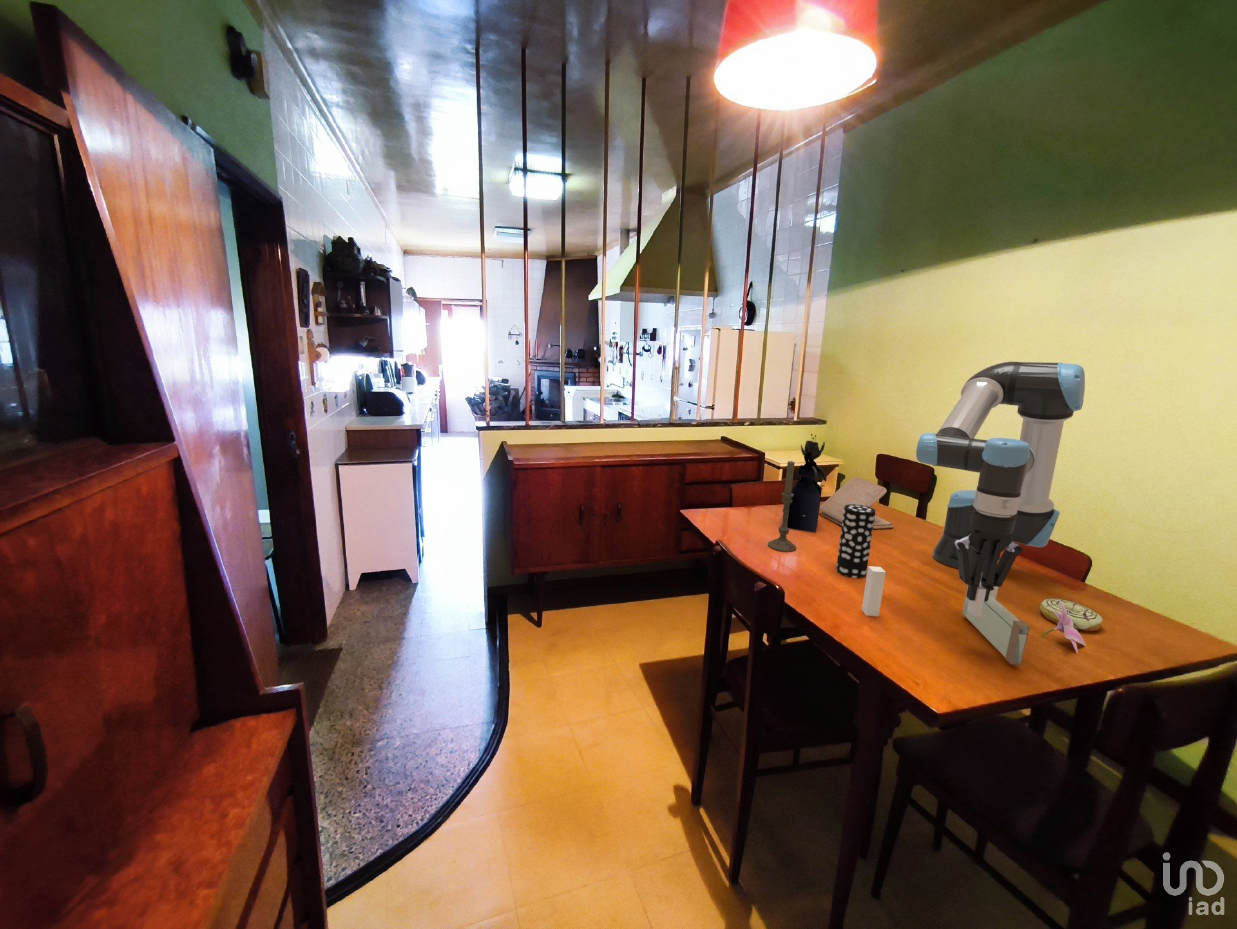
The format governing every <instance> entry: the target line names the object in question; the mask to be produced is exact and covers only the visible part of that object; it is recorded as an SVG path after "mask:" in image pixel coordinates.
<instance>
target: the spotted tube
mask: <svg viewBox="0 0 1237 929" xmlns="http://www.w3.org/2000/svg"><path fill="white" fill-rule="evenodd" d="M876 512H877V510H876V509H875V508H873V507H872V506H871V507H868V506H863V505H856V504H849V505H845V506H844V514H843V521H842V526H841V530H840V537H839V538H840V539H839V544H838V553H837V561H836V567H835V570H836V573H838V574H840V575H841V576H844V577H847V578H853V579H863V578H865V577H866V578H867V571H868V566H869V558H870V553H871V547H872V546H871V545H872V540H873V539H872V538H873V532H874V529H873V526H874V519H875V516H876Z"/></svg>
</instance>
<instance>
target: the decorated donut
mask: <svg viewBox="0 0 1237 929" xmlns="http://www.w3.org/2000/svg"><path fill="white" fill-rule="evenodd" d="M1059 599H1060V598H1046V599H1044V600H1043V601H1042V602H1041V603H1040V606H1039V609H1040V611H1041V614H1042V615H1043V616H1044V617H1045V619H1046V620H1049V621H1050V622H1053V624H1056V625H1058V623H1059V619H1058V618H1057V616H1056V615H1055V613H1054V612H1053V610H1055V611H1057V612H1058V613H1059V614H1060V618H1061V605H1060V601H1059ZM1060 600H1061V602H1062V603H1063V605H1064V607H1065V609H1066V611H1067V614H1068V617H1070V618H1071V619H1072V622H1073V628H1075V626H1076V628H1075V629H1076V630H1077V631H1082V632H1084V633H1085V632H1095V631H1098V630H1099V629H1100V628H1101V625H1102V622H1103V621H1104V620H1103V619H1104V618H1103V617H1102V616H1101V615H1099V613H1097V612H1096V611H1094V610H1092V609H1091V608H1089V607H1086V606H1084V605H1081V604H1079V603H1076V602H1073V601H1070V600H1065V599H1060Z"/></svg>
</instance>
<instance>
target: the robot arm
mask: <svg viewBox="0 0 1237 929" xmlns="http://www.w3.org/2000/svg"><path fill="white" fill-rule="evenodd" d="M1085 388H1086V376H1085V370H1084V368H1083V367H1082V365H1080V364H1075V363H1074V364H1073V363H1063V362H1042V361H1041V362H1039V361H1038V362H1034V361H1033V362H1032V361H1031V362H1030V361H1005V362H1000V363H995V364H994V365H991V366H988V367H986V368H983V369H981V370H980V371H978V372H976V373H975V374H974V375H973V376H971V377H969V379H967V380H966V382H965V383H964V384H963V386H962V388H961V390H960V396H961V397H960V398H959V400H958V401H957V403H956V404H955V406H954V407H953V409H952V410H951V411H950V413H949V414H948V416H947V417H946V419H945V421H944V422H943V423H942V425H941V426H940V428H939V429H938V430H937V431H936V432H937V433H935V432H931V433H930V432H925V433H922V434H921V435H920V437H919V439H918V441H917V445H916V448H915V449H916V451H915V453H916V454H915V455H916V456H915V457H916V459H917V461H918V462H919V463H921V464H925V465H931V466H933V467H941V468H947V469H953V470H954V469H955V470H959V471H960V470H963V471H967V472H972V473H973V472H974V473H979V477H978V482H977V487H976V490H973V489H971V490H968V489H967V490H966V489H965V490H964V489H963V490H957V491H954V492H953V493H952V494H951V495H950V496H949V501H948V504H947V510H946V516H945V522H944V527H943V534H942V535H941V538H940V539H939V541H938V542H937V544H936V546H935V547H934V549H933V553H932V558H933V559H934V560H935V561H936V562H938V563H940V564H943V565H945V566H947V567H951V568H953V569H957V570H958V575H959V579H960V580H961V582H962V583H964V584H965V585H967V587H968V589H966V592H967V594H965V597H966V596H967V598H968V599H969V604H968V609H967V610H968V611H969V612H970V613H971V614H972V615H973V616H978V617H981V614H982V609H983V604H984V601H985V602H987V601H988V599H989V594H990V591H992V590H994V588H993V587H996V586H997V587H998V588H1001V587H1002V586H1003V584H1004V582H1005V580H1006V578H1007V576H1008V574H1009V572H1010V570H1011V569H1012V566H1013V564H1014V562H1015V561H1016V558H1017V557H1018V556H1019V555H1020V554H1021V553H1022V552H1023V551H1024V547H1023V546H1020V545H1019V544H1021V545H1024V546H1030V547H1035V548H1044V547H1046V546H1047V545H1048V543H1049V541H1050V539H1051V536H1052V533H1053V531H1054V529H1055V526H1056V524H1057V523H1058V522H1057V521H1058V519H1059V517H1060V514H1061V512H1060V510H1057V509H1056V508H1055V503H1054V501H1053V500H1052V499H1051V498H1050V494H1051V488H1052V483H1053V478H1054V474H1055V470H1056V464H1057V458H1058V454H1059V449H1060V448H1059V447H1060V443H1061V439H1062V438H1061V437H1062V434H1063V433H1062V432H1063V428H1064V422H1066V421H1067V420H1069V419H1071V418H1072V417H1073V416H1074V412H1077V411H1080V410H1082V408H1083V406H1084V397H1085V390H1086V389H1085ZM999 405H1007V406H1015V407H1016V406H1017V411H1016V412H1017V414H1018V415H1019V416H1020V417H1021V418H1022V422H1021V431H1020V435H1019V439H1016V438H1006V437H994V438H993V437H992V438H989V439H979V438H976V436H977V434H978V432H979V431H980V429H981V428H982V426H983V424H984V422H985V421H986V419H987V417H988V416H989V414H990V412H991V410H992V409H994V408H996V407H998V406H999ZM981 575H982V576H981ZM980 580H981V585H980Z"/></svg>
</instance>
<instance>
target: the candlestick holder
mask: <svg viewBox="0 0 1237 929" xmlns="http://www.w3.org/2000/svg"><path fill="white" fill-rule="evenodd" d="M794 471H795V462H794V461H793V460H789V461H787V465H786V474H785V484H784V492H781V496H782V498H781V502H782V503H783V504H784V505H783V507H782V523H781V526H779V527H778V534H779V537H777V538H774V539H772V540H769V541H768V543H767V546H768V548H770V549H771V550H773V551H777V552H781V553H792V552H795V551H796V550H797V546H796V544H794V543H793V542H792V541H791V540H789V539H788V538H787V535H788V534H789V533H790V529H789V528H787V520H788V513H789V504H790V503H792V497H793V496H794V494H792V493H791V491H792V487H793V481H794Z"/></svg>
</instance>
